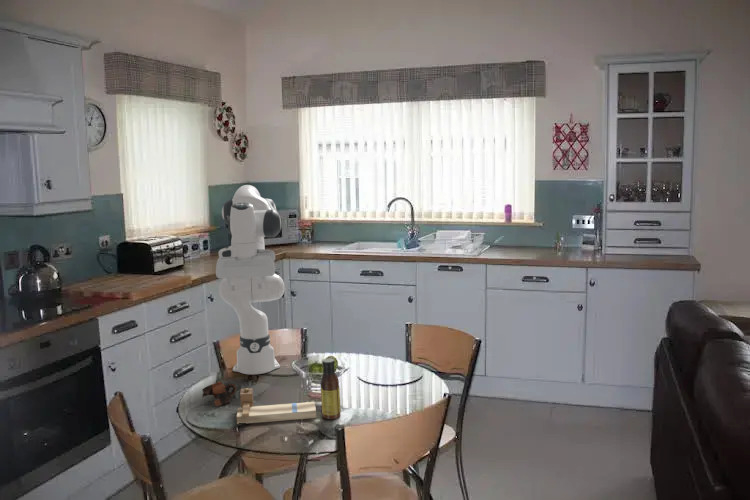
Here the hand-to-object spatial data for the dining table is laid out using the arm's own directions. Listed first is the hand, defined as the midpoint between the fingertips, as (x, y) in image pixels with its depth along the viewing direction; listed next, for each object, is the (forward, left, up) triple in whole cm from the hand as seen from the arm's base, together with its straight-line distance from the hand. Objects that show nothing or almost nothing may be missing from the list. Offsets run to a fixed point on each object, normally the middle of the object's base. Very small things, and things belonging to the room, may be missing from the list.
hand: (246, 289), depth 237 cm
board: (+16, +8, -41) cm, 44 cm away
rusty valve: (-2, -12, -41) cm, 43 cm away
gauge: (+14, -2, -41) cm, 43 cm away
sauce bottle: (+20, +26, -41) cm, 53 cm away
